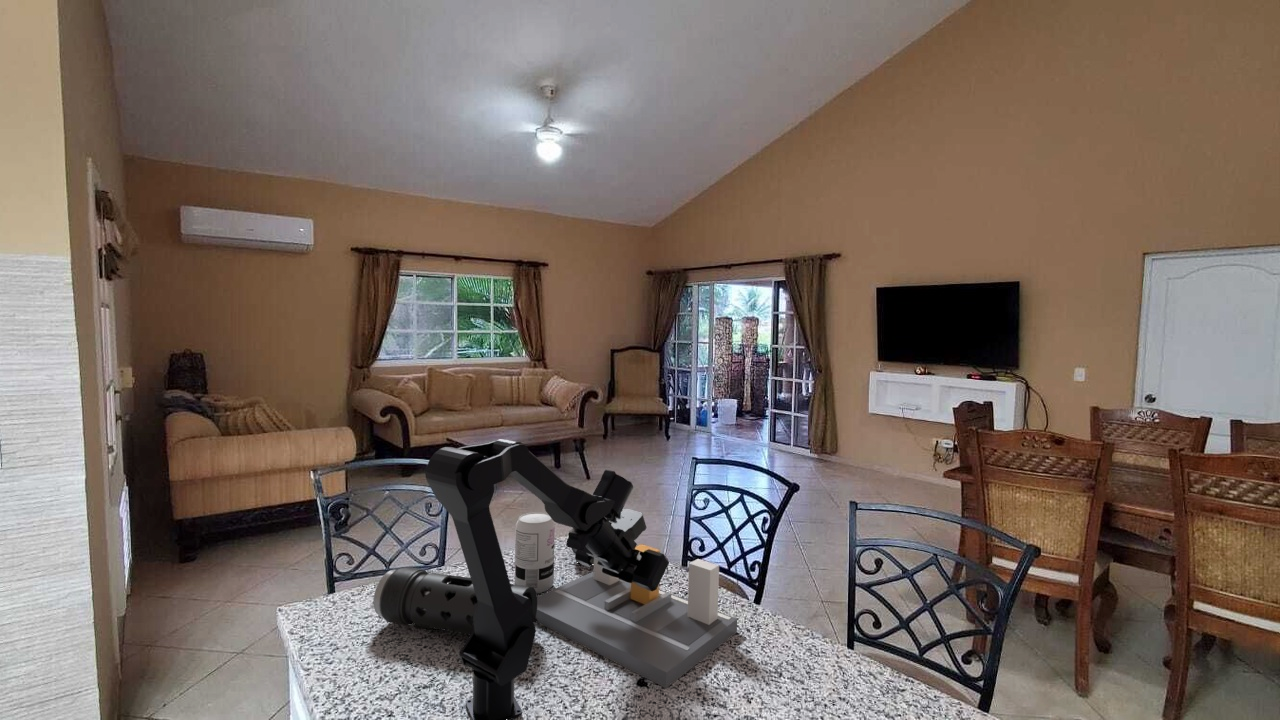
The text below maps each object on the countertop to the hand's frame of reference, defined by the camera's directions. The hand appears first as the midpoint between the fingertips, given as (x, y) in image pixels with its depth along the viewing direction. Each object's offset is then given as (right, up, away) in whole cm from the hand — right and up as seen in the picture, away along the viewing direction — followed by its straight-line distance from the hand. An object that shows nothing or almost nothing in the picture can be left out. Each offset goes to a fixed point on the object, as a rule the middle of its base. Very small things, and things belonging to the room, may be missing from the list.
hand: (639, 579), depth 107 cm
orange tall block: (+1, -5, +2) cm, 5 cm away
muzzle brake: (-33, -7, -7) cm, 35 cm away
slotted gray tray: (-2, -7, -2) cm, 8 cm away
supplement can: (-23, -7, +12) cm, 27 cm away
